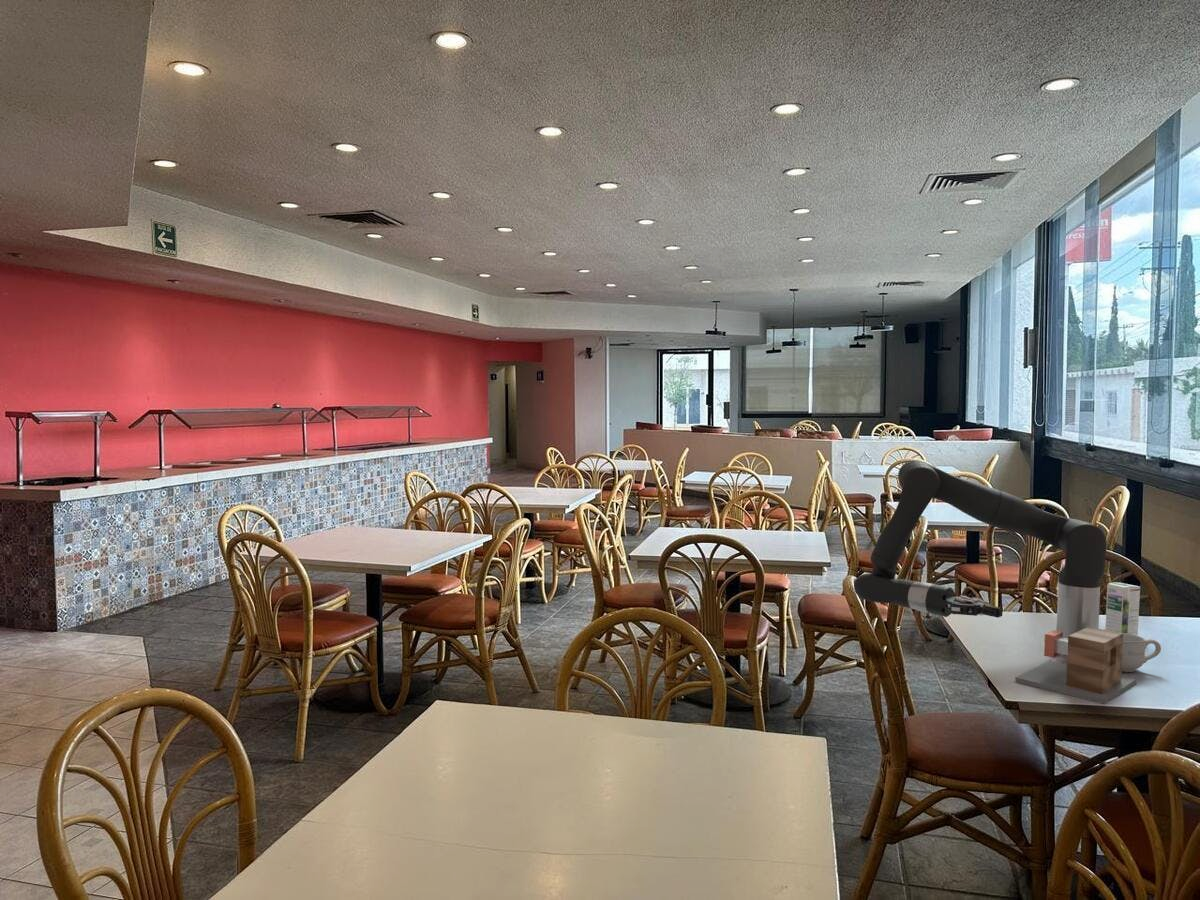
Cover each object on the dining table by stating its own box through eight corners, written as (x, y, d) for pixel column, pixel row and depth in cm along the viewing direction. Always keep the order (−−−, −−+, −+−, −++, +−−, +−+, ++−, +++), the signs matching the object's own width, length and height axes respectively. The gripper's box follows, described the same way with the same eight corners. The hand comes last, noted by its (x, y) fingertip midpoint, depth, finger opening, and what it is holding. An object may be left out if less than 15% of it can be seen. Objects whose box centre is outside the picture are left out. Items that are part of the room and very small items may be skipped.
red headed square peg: (1052, 651, 188) (1053, 630, 188) (1096, 661, 181) (1097, 638, 181) (1044, 655, 185) (1045, 634, 185) (1088, 665, 178) (1089, 642, 178)
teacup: (1092, 671, 192) (1094, 637, 191) (1089, 658, 201) (1090, 626, 201) (1163, 681, 185) (1165, 646, 185) (1157, 667, 195) (1158, 634, 194)
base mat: (1050, 664, 197) (1050, 660, 196) (1135, 683, 183) (1136, 679, 183) (1015, 681, 183) (1015, 677, 183) (1104, 704, 170) (1105, 699, 170)
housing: (1085, 678, 186) (1088, 626, 185) (1120, 686, 181) (1123, 633, 180) (1066, 690, 178) (1068, 635, 178) (1101, 698, 173) (1104, 643, 172)
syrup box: (1103, 635, 222) (1106, 583, 222) (1117, 633, 225) (1119, 581, 224) (1124, 641, 217) (1127, 587, 217) (1138, 638, 220) (1141, 585, 219)
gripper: (919, 587, 202) (989, 601, 189) (944, 580, 211) (1013, 593, 198) (917, 616, 203) (988, 632, 190) (942, 609, 212) (1012, 624, 199)
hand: (1001, 612), depth 194 cm, fingers closed
